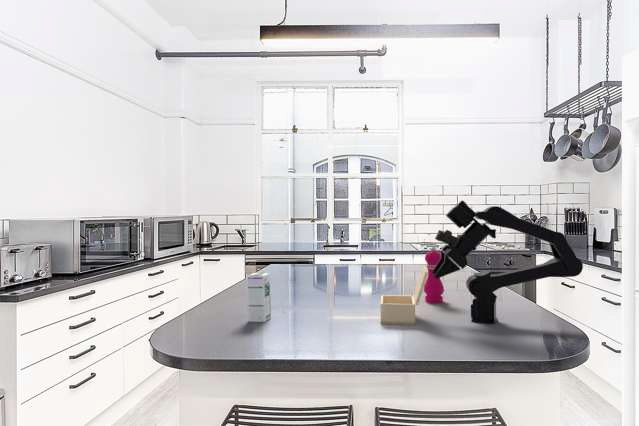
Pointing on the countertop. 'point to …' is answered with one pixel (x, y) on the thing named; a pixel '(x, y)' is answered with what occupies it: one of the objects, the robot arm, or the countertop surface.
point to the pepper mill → (433, 279)
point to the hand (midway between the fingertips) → (434, 275)
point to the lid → (420, 285)
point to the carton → (397, 310)
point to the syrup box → (258, 297)
